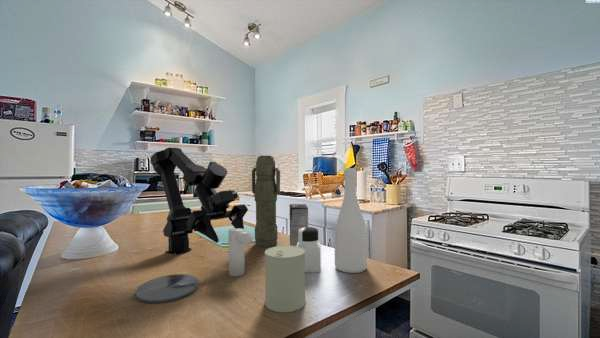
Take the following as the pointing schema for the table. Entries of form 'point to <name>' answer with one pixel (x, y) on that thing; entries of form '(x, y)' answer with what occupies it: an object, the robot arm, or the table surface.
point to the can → (285, 278)
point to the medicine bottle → (310, 248)
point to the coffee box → (297, 221)
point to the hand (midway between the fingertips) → (231, 238)
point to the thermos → (266, 201)
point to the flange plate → (167, 288)
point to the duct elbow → (237, 250)
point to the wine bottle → (350, 230)
